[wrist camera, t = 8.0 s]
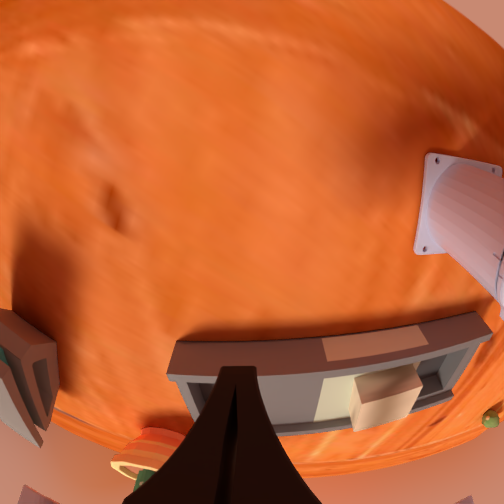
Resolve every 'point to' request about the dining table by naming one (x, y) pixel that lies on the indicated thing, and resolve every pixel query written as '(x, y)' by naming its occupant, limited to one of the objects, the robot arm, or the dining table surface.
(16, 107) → the dining table surface
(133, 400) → the dining table surface
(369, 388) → the birch block
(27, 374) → the gray angular rack
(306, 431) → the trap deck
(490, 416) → the edible corn
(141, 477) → the potted cactus
